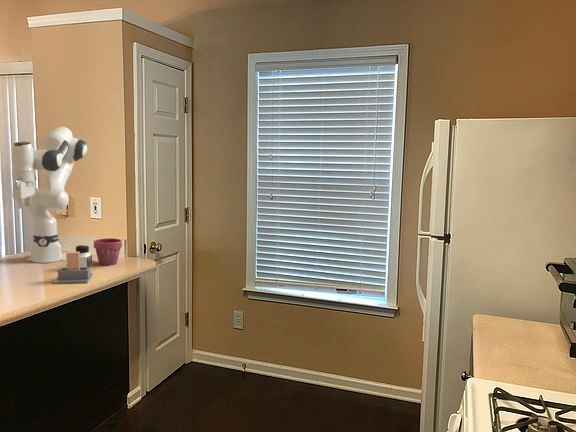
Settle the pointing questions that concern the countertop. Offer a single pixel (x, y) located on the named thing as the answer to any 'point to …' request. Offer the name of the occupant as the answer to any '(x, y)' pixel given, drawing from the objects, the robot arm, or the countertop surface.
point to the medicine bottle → (84, 256)
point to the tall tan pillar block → (73, 261)
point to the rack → (73, 276)
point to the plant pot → (107, 250)
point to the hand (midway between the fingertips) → (24, 207)
